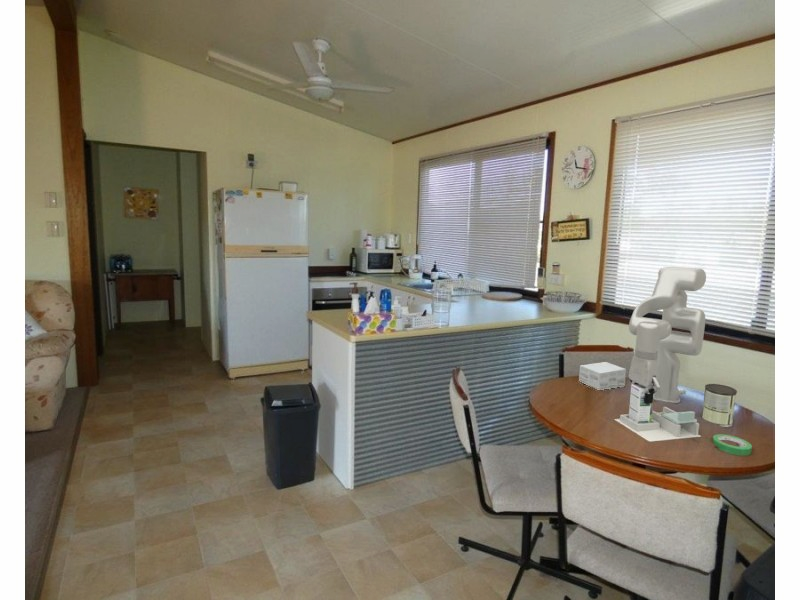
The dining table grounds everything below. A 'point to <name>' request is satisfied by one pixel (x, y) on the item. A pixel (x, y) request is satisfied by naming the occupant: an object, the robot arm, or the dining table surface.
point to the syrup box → (639, 405)
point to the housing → (661, 427)
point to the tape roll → (742, 450)
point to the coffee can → (719, 404)
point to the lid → (681, 417)
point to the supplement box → (602, 375)
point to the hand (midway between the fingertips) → (641, 399)
